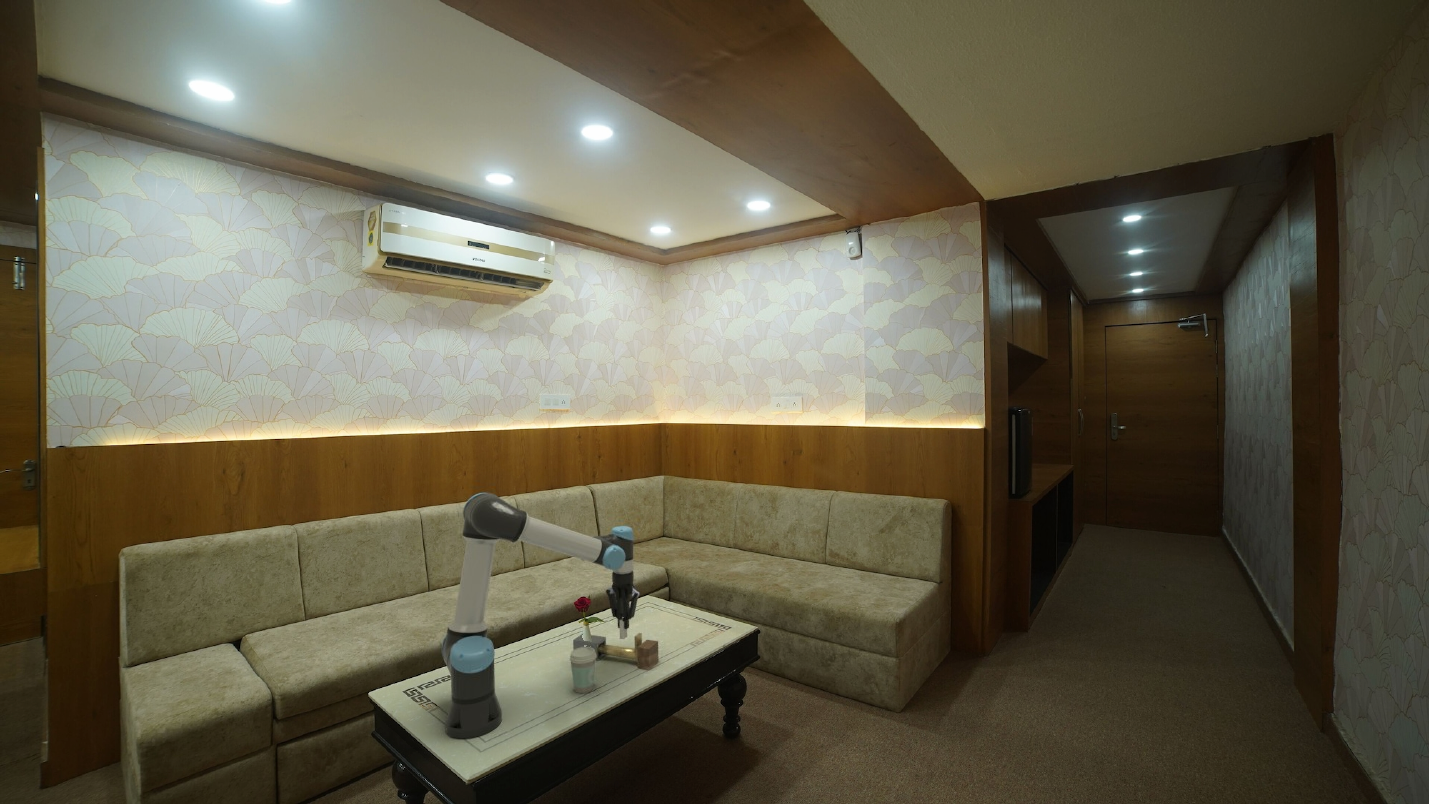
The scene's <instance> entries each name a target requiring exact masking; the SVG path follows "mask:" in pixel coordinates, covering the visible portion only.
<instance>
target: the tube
mask: <svg viewBox="0 0 1429 804" xmlns="http://www.w3.org/2000/svg"><path fill="white" fill-rule="evenodd" d="M642 635H643V634H642V633H641V632H638V633H637V634H635V636H634V648H633V647H632V648H631V647H625V646H619V645H612V644H611V645H610V644H606V645H605V644H600V645H598V654H603V655H604V656H609V657H615V658H617V657H618V658H623V659H629V660H634V662H637V663H638V658H637V647H638V646H640V645H641V644H642V643H643V636H642Z"/></svg>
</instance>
